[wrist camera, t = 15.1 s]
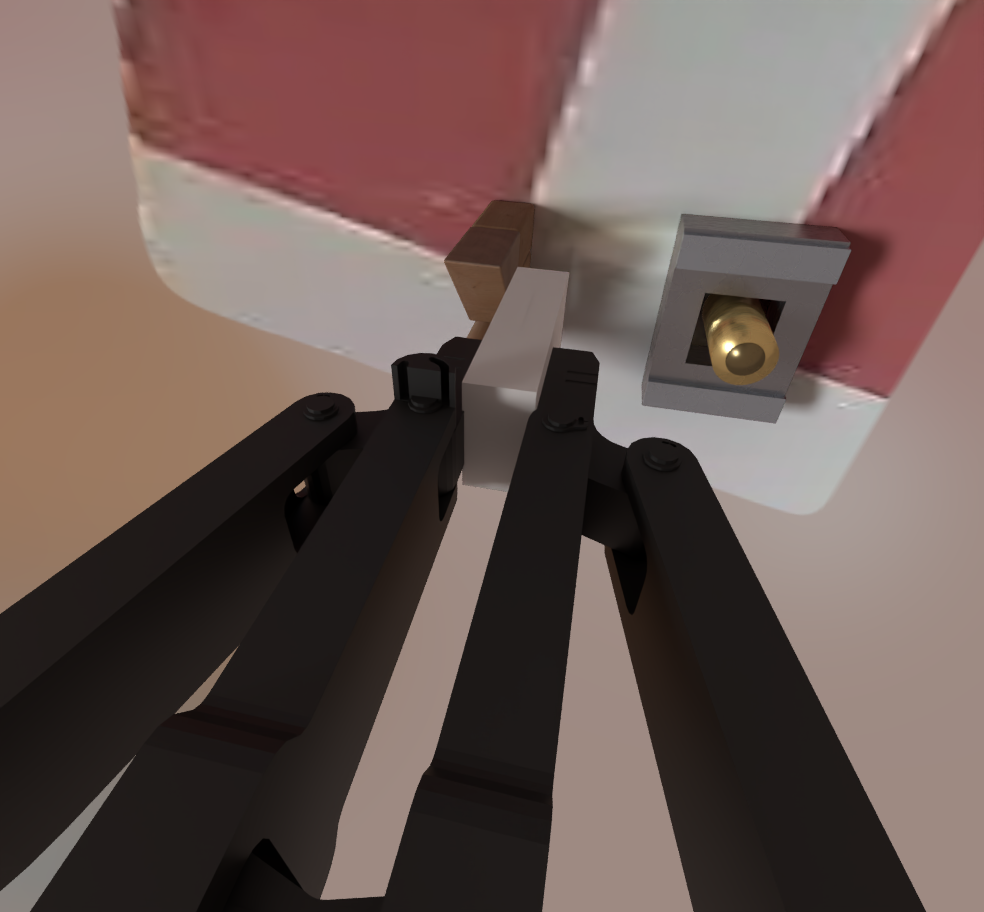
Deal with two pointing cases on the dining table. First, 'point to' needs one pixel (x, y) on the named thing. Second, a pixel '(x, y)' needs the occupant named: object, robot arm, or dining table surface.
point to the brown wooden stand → (490, 259)
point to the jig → (746, 273)
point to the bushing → (739, 339)
